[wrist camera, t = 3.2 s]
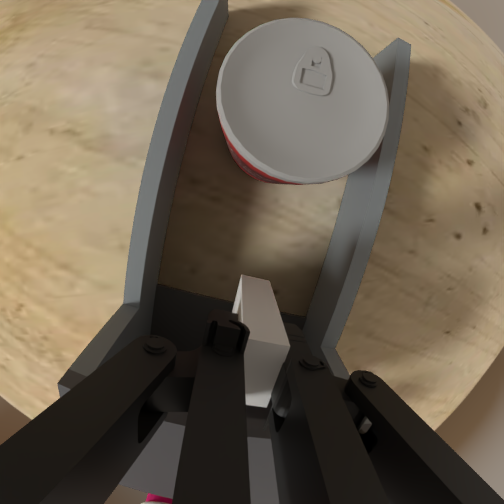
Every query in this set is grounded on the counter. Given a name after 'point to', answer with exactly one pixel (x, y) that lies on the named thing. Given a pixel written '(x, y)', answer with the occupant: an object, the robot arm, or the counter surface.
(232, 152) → the canned food
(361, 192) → the trap channel
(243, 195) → the counter surface
